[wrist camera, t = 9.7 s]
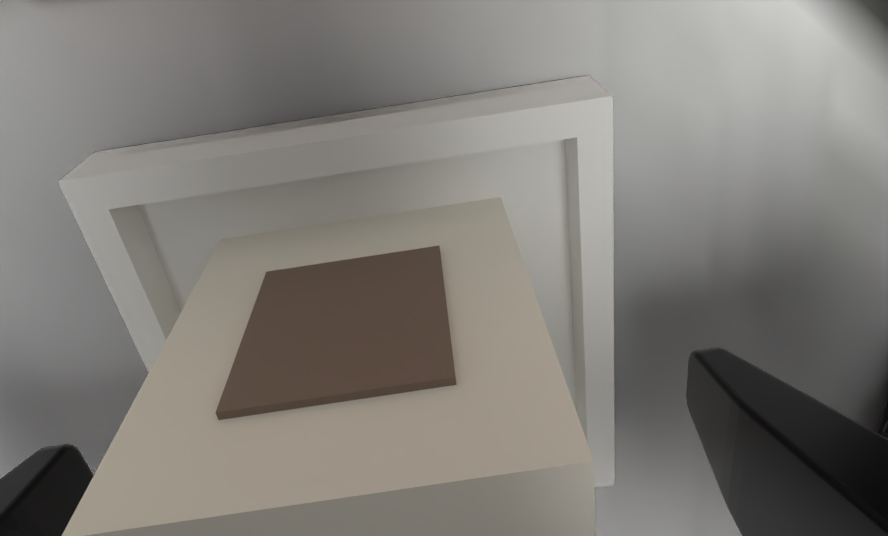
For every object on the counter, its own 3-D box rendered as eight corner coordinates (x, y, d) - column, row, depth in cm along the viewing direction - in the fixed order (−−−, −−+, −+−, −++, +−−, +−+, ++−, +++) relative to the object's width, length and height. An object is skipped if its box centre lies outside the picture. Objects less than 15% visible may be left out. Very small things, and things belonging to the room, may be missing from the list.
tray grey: (589, 75, 10) (613, 95, 9) (597, 439, 13) (614, 485, 12) (94, 151, 10) (57, 181, 9) (241, 492, 13) (228, 541, 12)
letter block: (500, 190, 10) (596, 460, 5) (522, 410, 12) (603, 740, 7) (217, 234, 10) (50, 541, 5) (292, 443, 12) (222, 793, 7)
